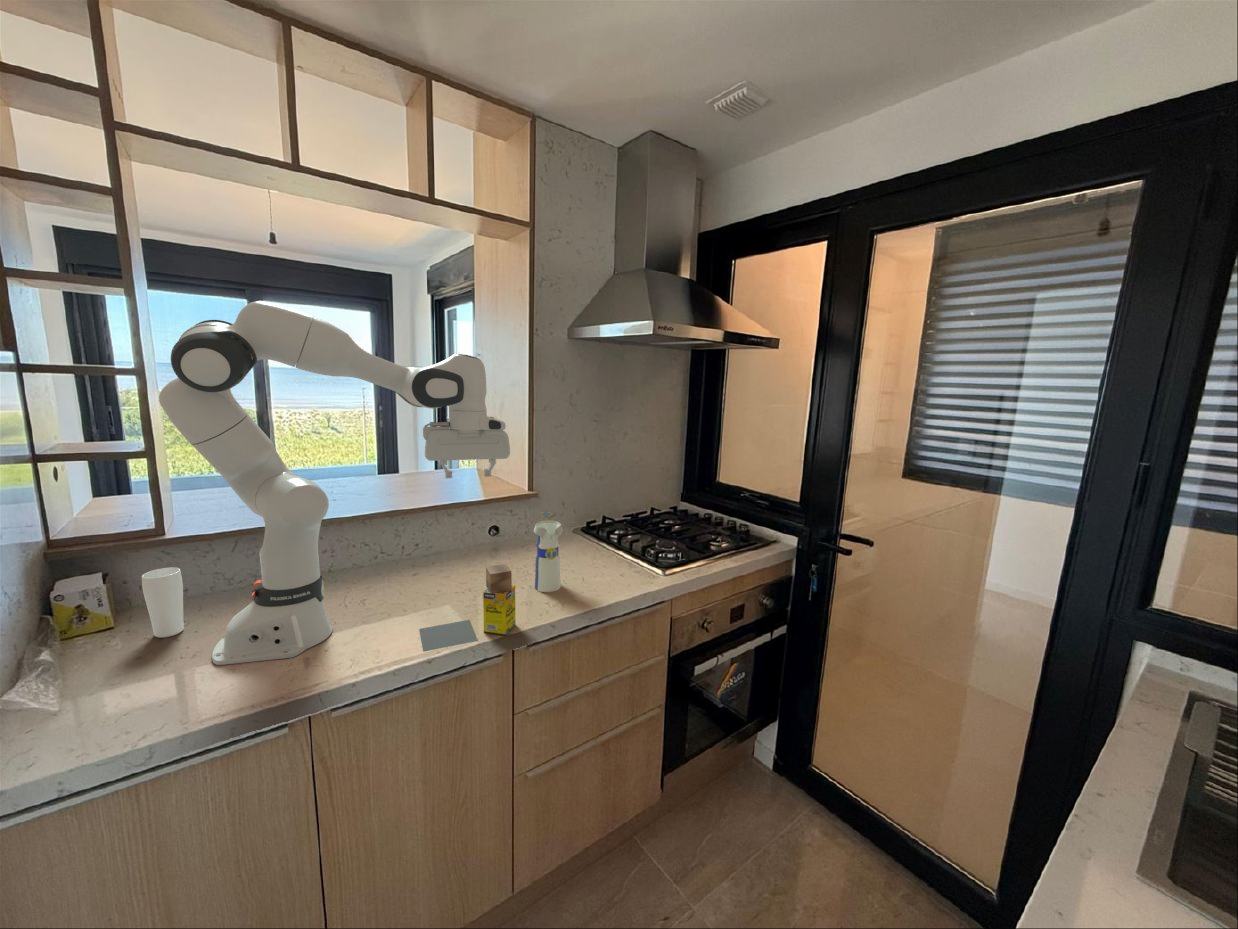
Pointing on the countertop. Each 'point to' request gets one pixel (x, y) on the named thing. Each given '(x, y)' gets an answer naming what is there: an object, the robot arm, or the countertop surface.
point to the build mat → (447, 635)
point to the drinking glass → (164, 600)
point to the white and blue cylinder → (547, 555)
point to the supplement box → (499, 612)
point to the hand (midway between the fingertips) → (468, 477)
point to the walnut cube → (498, 578)
